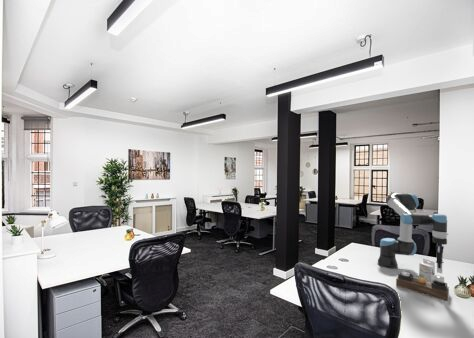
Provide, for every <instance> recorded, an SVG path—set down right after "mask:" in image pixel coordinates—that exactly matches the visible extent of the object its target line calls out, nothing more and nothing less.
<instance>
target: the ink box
mask: <svg viewBox="0 0 474 338" xmlns="http://www.w3.org/2000/svg"><path fill="white" fill-rule="evenodd" d="M435 263H436V261H433V260H430V259H426V258H422V262H419V267H418V268H419V271H418V272H419V273H418V276H419V277H422V278H425V279H426V281H428V282H431V283H432V280H435V275H436V273H435V272H436V270H435V269H436V266H435Z"/></svg>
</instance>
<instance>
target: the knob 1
mask: <svg viewBox="0 0 474 338" xmlns="http://www.w3.org/2000/svg"><path fill="white" fill-rule="evenodd" d="M410 274H411V273H410V272H407V271H401V275H404V276H408V277H410Z"/></svg>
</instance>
